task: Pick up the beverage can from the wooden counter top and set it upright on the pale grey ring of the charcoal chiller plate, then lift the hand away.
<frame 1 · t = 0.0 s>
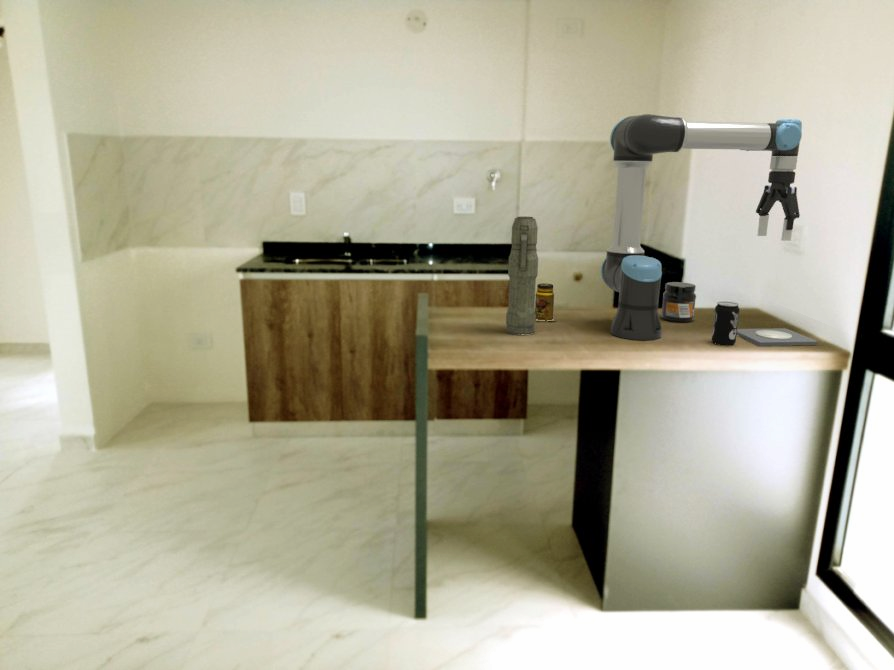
hand: (773, 238, 220), 28 cm above the table, tool pointing down, fingers open, 13 cm apart
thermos: (520, 332, 209), on the table
chiller plate: (773, 338, 205), on the table
condiment: (543, 319, 227), on the table
supplement container: (677, 320, 229), on the table
beverage can: (723, 344, 199), on the table
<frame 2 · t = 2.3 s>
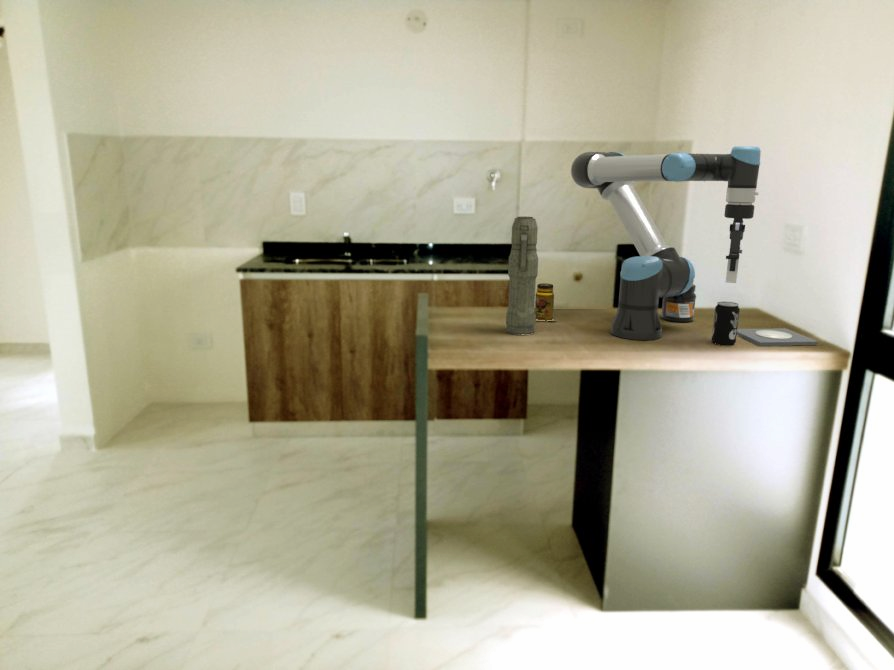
hand: (731, 279, 194), 19 cm above the table, tool pointing down, fingers open, 13 cm apart
nothing on the table moved.
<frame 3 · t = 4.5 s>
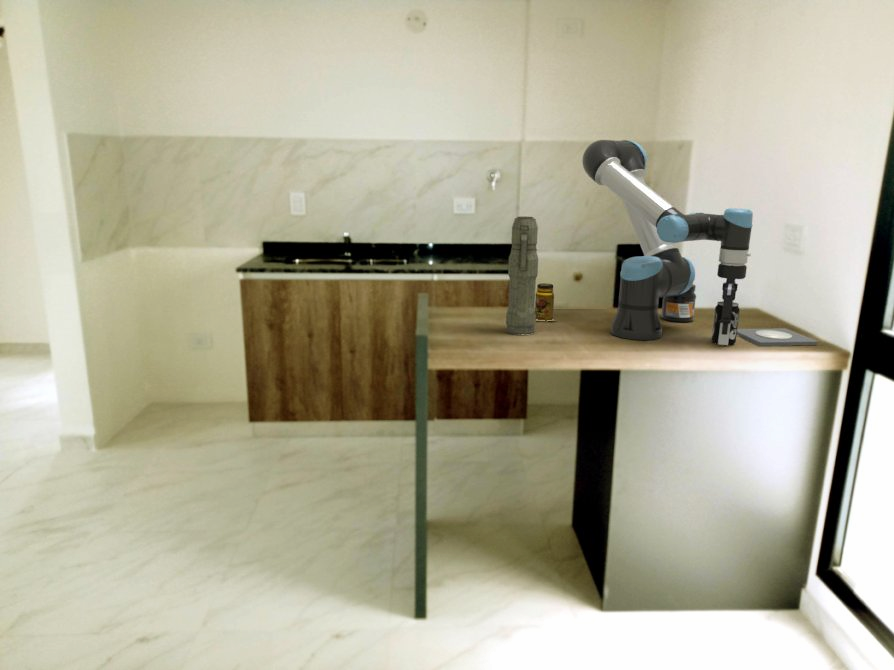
hand: (723, 341, 199), 1 cm above the table, tool pointing down, fingers closed on beverage can, 7 cm apart
beverage can: (723, 344, 199), on the table, touching gripper
everything else where it was.
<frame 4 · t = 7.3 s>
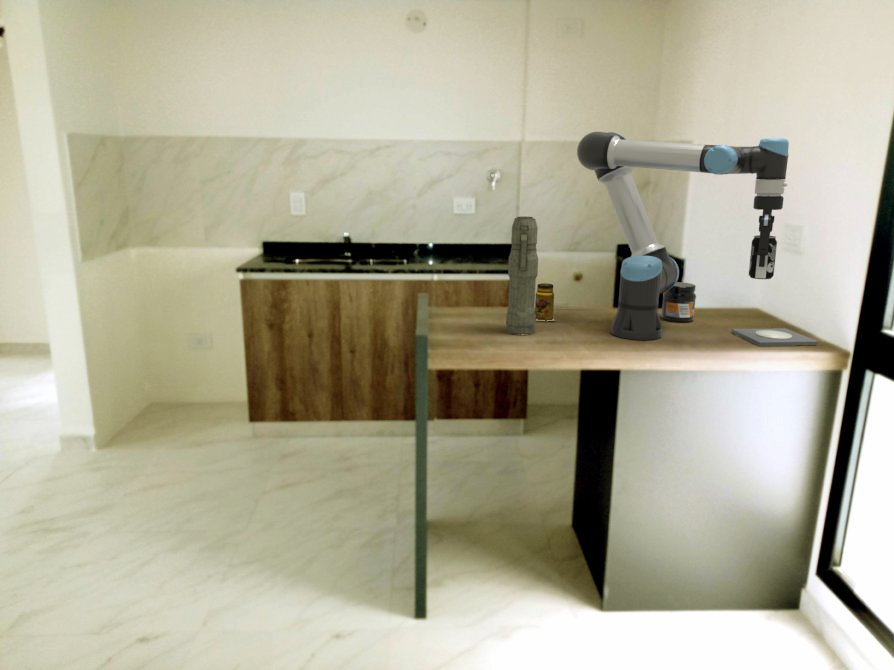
hand: (760, 276, 197), 20 cm above the table, tool pointing down, fingers closed on beverage can, 7 cm apart
beverage can: (760, 278, 197), point 19 cm above the table, touching gripper
everything else where it was.
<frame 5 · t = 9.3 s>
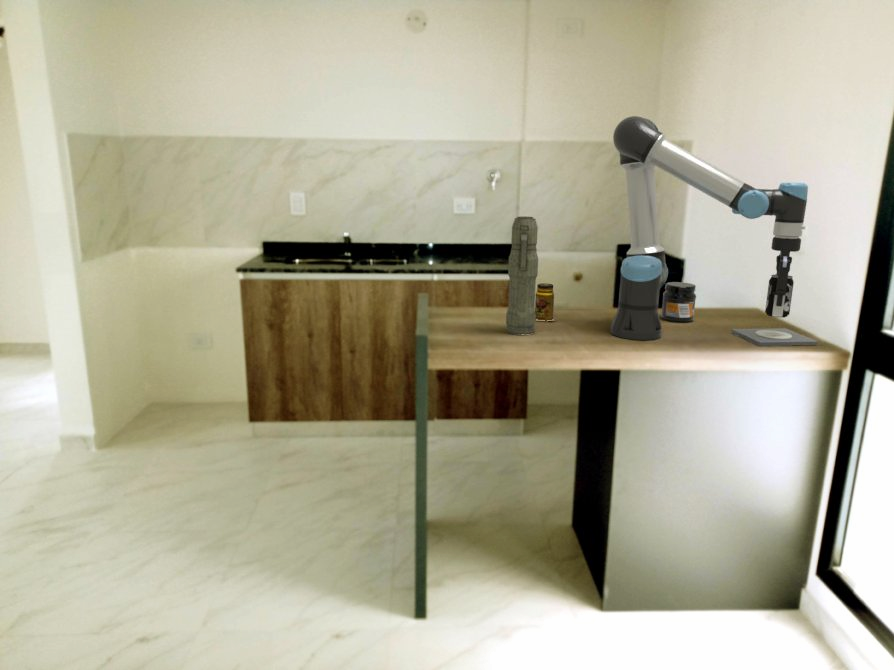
hand: (776, 314, 203), 8 cm above the table, tool pointing down, fingers closed on beverage can, 7 cm apart
beverage can: (776, 316, 203), point 7 cm above the table, touching gripper
everything else where it was.
when the fingers open (3 cm above the table, at t = 10.5 s): beverage can drops 1 cm, resting on chiller plate.
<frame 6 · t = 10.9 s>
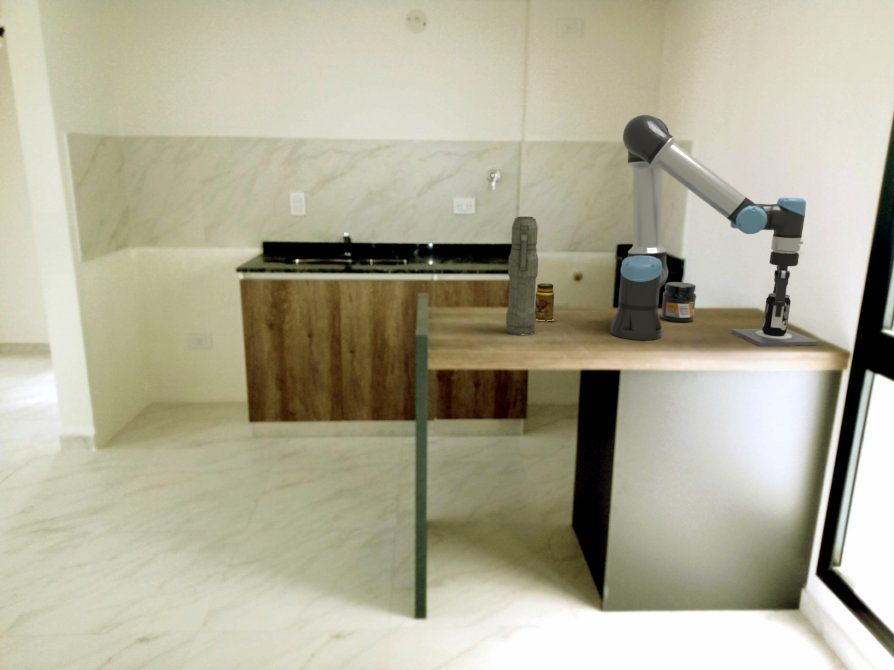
hand: (775, 322, 204), 5 cm above the table, tool pointing down, fingers open, 12 cm apart
beverage can: (773, 334, 205), point 1 cm above the table, touching chiller plate
everything else where it was.
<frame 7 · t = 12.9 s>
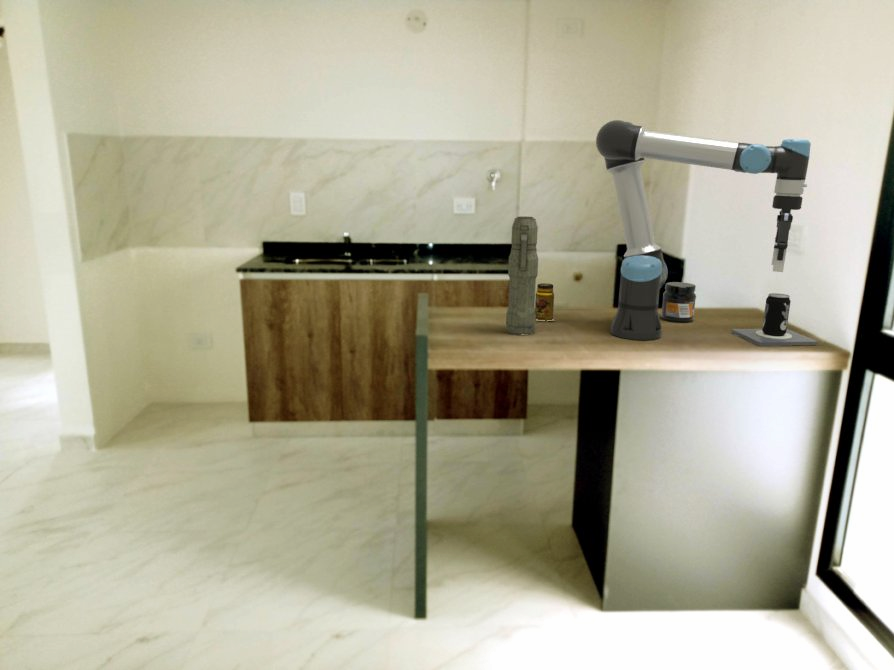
hand: (777, 268, 200), 21 cm above the table, tool pointing down, fingers open, 13 cm apart
nothing on the table moved.
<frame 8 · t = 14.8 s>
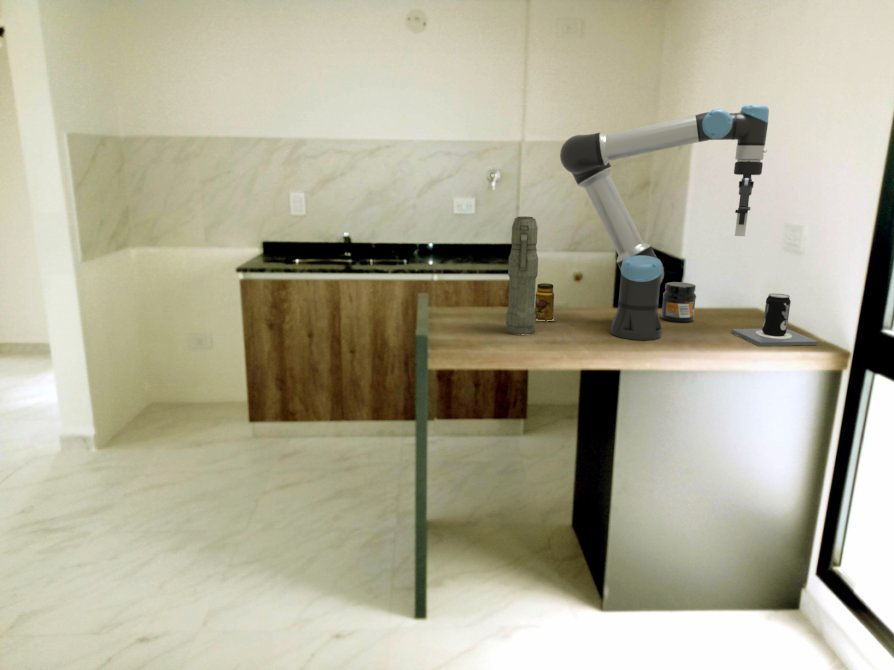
hand: (740, 234, 204), 31 cm above the table, tool pointing down, fingers open, 13 cm apart
nothing on the table moved.
at the end: beverage can inside the target area on the chiller plate (0.0 cm from its centre), point 1.3 cm above the chiller plate's base; beverage can tilted 0°; the gripper is holding nothing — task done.
